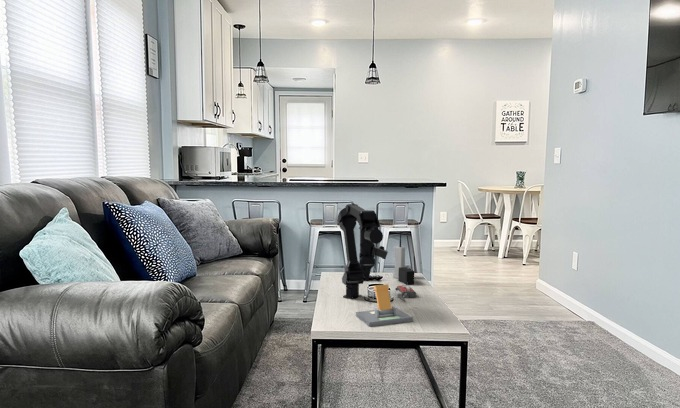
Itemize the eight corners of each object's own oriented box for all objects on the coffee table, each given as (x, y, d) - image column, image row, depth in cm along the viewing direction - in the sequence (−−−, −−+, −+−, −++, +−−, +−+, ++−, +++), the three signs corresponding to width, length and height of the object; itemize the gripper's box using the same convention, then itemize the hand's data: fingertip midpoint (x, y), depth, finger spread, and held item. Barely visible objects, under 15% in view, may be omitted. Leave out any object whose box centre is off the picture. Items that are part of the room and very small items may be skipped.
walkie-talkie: (391, 291, 213) (401, 303, 193) (391, 282, 213) (401, 293, 193) (409, 291, 214) (421, 303, 194) (409, 282, 214) (421, 293, 194)
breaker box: (355, 315, 175) (355, 304, 175) (396, 311, 181) (396, 300, 181) (369, 326, 163) (369, 314, 162) (412, 321, 169) (412, 309, 169)
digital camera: (416, 284, 226) (416, 270, 225) (406, 285, 224) (406, 271, 224) (407, 279, 236) (408, 266, 235) (398, 280, 234) (398, 267, 234)
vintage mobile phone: (396, 276, 243) (397, 230, 241) (404, 277, 240) (405, 231, 238) (393, 277, 240) (393, 231, 238) (400, 279, 237) (401, 232, 235)
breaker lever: (378, 315, 170) (373, 286, 174) (391, 314, 172) (386, 285, 176) (380, 315, 168) (375, 285, 172) (393, 313, 170) (388, 284, 174)
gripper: (388, 243, 174) (388, 283, 175) (385, 238, 193) (385, 274, 193) (359, 243, 175) (359, 283, 175) (359, 238, 193) (359, 274, 194)
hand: (366, 278), depth 184 cm, fingers open, 9 cm apart
